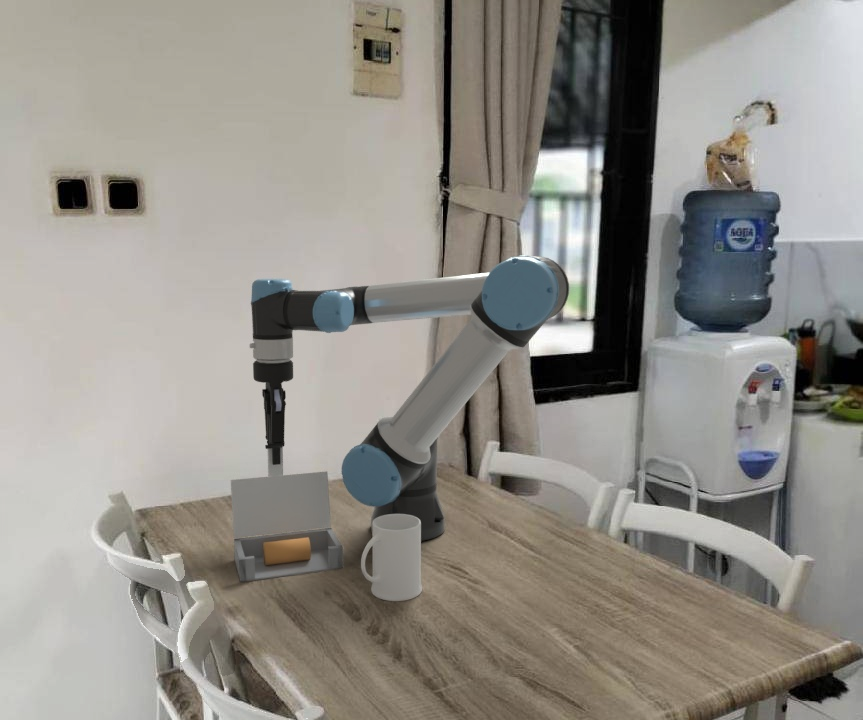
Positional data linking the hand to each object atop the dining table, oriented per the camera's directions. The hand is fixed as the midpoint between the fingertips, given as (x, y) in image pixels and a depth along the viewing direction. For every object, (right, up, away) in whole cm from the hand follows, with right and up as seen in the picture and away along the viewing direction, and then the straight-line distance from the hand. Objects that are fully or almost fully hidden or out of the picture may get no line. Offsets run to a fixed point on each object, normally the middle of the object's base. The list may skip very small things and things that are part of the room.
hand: (275, 478), depth 150 cm
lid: (+3, -4, -7) cm, 8 cm away
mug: (+23, -16, -22) cm, 36 cm away
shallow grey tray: (+5, -14, -11) cm, 18 cm away
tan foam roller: (+4, -11, -11) cm, 16 cm away
